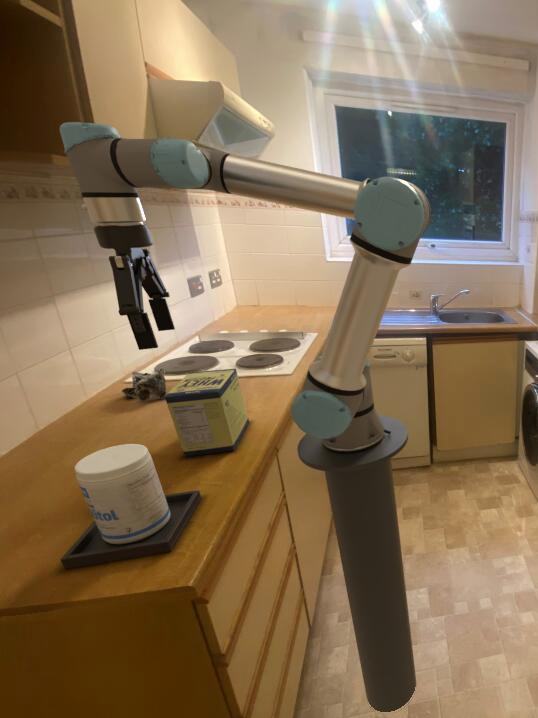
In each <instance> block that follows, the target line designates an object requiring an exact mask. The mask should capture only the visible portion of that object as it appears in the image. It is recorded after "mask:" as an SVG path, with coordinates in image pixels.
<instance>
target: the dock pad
mask: <svg viewBox="0 0 538 718" xmlns="http://www.w3.org/2000/svg"><path fill="white" fill-rule="evenodd" d="M164 495H165V498H166V501H167V504H168V507H169V510H170V519H169V521H168V522H167V523H166V525H165V526H164V527H163V528H161V529H160V530H159V531H157V532H156V533H154V534H152V535H151V536H149V537H147V538H144V539H142V540H139V541H136V542H132V543H126V544H111V543H108V542H106V541H105V540H104V539H103V538H102V536H101V533H100V531H99V529H98V527H97V525H96V522H95V520H93V521H92V522H91V524H90V525H89V526H88V527H87V528H86V530H85V531H84V532H83V533H82V534H81V535H80V537H78V539H77V540H76V541H75V542H74V543H73V545H71V547H70V548H69V549H68V550H67V552H66V553H65V554H64V555H63V556H62V557H61V558H60V562H61V564H62V566H63V567H64V570H70V569H77V568H82V567H88V566H95V565H100V564H105V563H106V564H107V563H111V562H117V561H123V560H129V559H135V558H140V557H141V558H142V557H146V556H147V557H148V556H152V555H158V554H164V553H170V552H172V551H173V549H174V548H175V546H176V544H177V543H178V541H179V539H180V538H181V536H182V534H183V532H184V530H185V528H186V527H187V525H188V524H189V522H190V520H191V518H192V517H193V515H194V513H195V512H196V510H197V508H198V506H199V504H200V503H201V501H202V498H203V497H202V495H201V491H200V490H199V489H197V490H191V491H184V492H183V491H182V492H176V493H169V494H164Z"/></svg>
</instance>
